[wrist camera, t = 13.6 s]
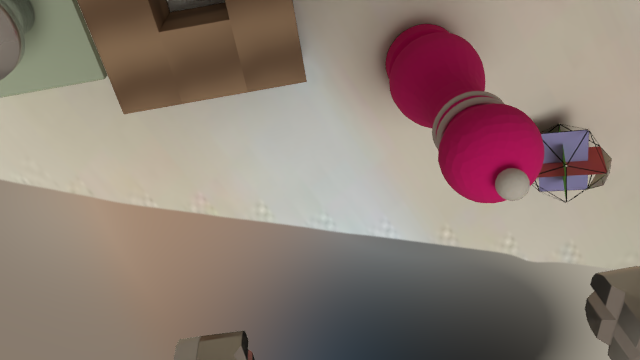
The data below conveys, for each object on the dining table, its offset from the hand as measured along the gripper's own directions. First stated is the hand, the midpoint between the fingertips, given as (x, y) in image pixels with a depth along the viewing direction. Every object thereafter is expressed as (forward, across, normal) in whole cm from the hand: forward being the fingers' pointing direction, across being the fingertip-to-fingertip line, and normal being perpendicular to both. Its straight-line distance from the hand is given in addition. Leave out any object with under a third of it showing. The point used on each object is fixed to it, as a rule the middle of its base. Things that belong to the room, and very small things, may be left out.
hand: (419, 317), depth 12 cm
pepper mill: (+33, -8, +8) cm, 35 cm away
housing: (+33, +9, -2) cm, 34 cm away
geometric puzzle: (+33, -21, +18) cm, 43 cm away
